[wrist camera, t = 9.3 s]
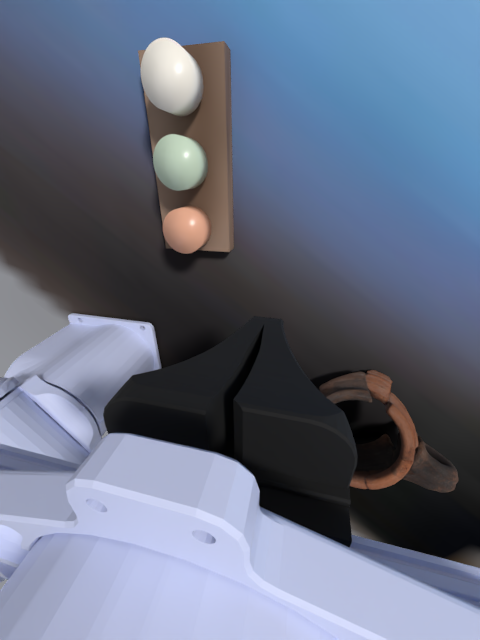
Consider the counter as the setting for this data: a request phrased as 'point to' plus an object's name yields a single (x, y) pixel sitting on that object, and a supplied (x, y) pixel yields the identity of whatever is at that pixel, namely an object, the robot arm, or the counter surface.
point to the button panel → (203, 144)
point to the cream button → (171, 77)
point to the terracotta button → (187, 229)
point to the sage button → (180, 162)
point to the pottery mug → (381, 455)
